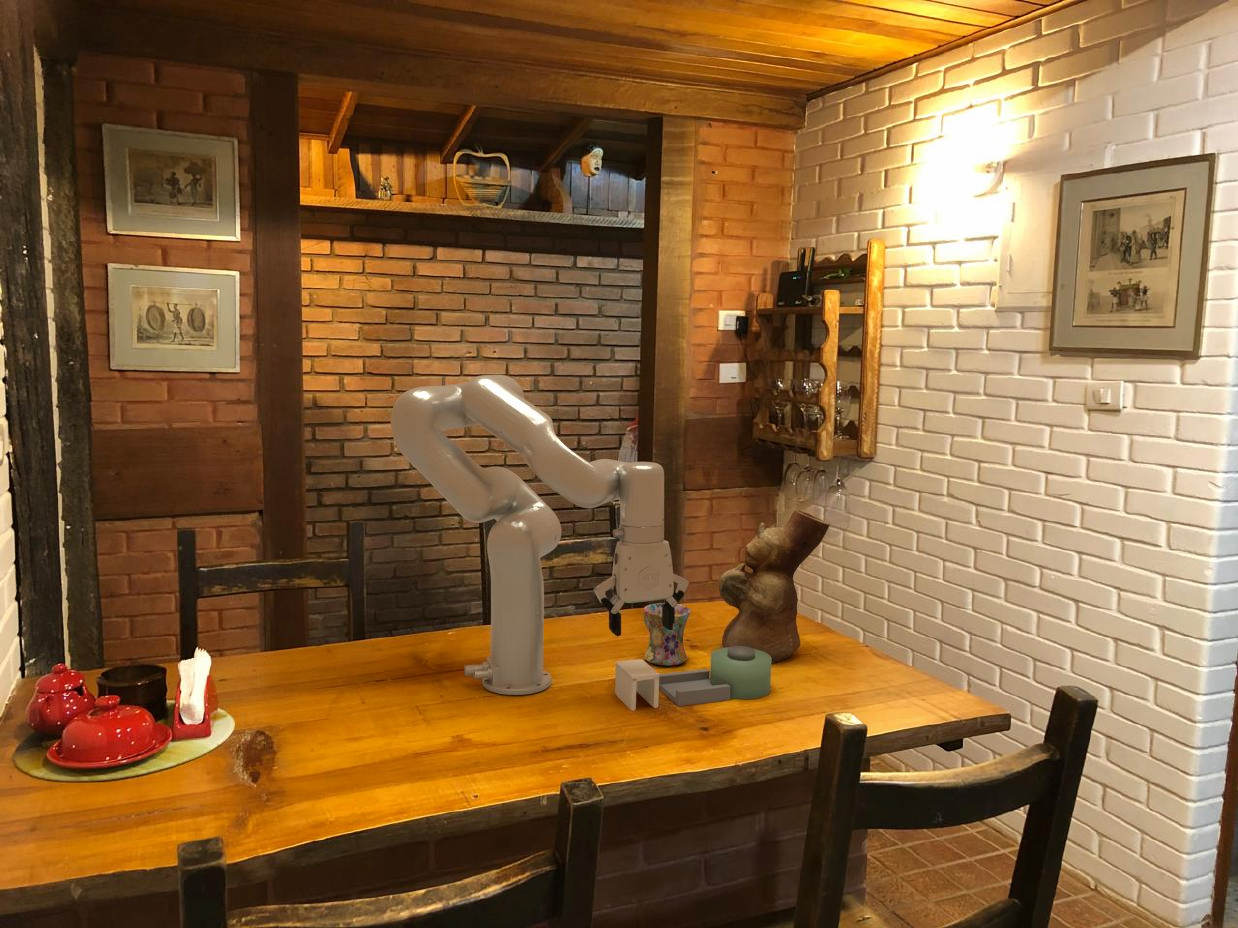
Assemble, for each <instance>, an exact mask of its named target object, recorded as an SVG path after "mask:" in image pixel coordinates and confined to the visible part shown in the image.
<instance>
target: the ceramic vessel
mask: <svg viewBox="0 0 1238 928" xmlns="http://www.w3.org/2000/svg"><path fill="white" fill-rule="evenodd" d="M829 527H830V523H829V522H827V521H825V520H823V519H821V518H819V517H817V516H815V515H812V514H811V513H808V512H806V511H803V510H801V509H794V510H793V511H792V513H791V515H790V517H789V519H788V521H787V522H786V523H785V524H784V526H781V527H767V526H766V524H765V523H764V522H761V523H760V524H759V526H758V529H757V535H755V537H754V538H753V539H752V540H751V541H750V542H748V543H747V545H745V548H744V550H745V554H744V563H740V564H739V565H738V566H736V567H734V568H732V569H729V570H726V571H725V572H723V574H721V576H720V578H719V579H718V592H719V595H720V597H721V599H722V600H723V601H724V603H726V604H728V605H729V606H731V607H734V608H736V609H737V610H738V613H737V614H736V615H735V616H734V617H733V618H732V620H730V621H729V623H728V624H727V625H726V627H725V629H723V630H724V631H723V634H722V637H721V648H726V647H732V646H746V647H750V648H753V649H757V650H760V651H763V652H765V653H767V654H769V655H770V656H771V658H772V661H771V664H774V663H778V662H781V661H783V660H786V659H788V658H789V657H791V656H793V655H794V653H795V652H796V651H798V650H799V648H800V647H801V638H800V634H799V631H798V625H797V615H798V601H799V599H798V593H797V588H796V586H795V582H794V576H795V573H796V571H797V569H798V568H799V566H801V565H802V563H804V561H805V560H807V558H808V557H809V556H810V555H811V554H812V553H813V552H814V550H816V548H818V546H819V545H820V544H821V543H822V541H823V539H824V538H825V536H826V535H827V532H828V529H829ZM746 567H747V568H750V569H751V570H752V572H749V571H747V570H746Z"/></svg>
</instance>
